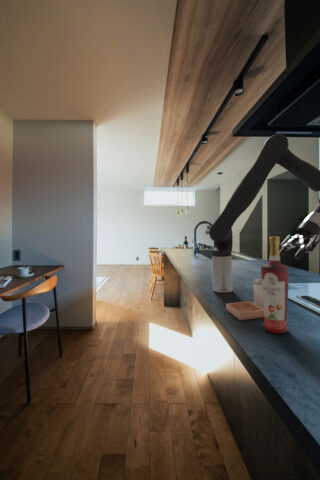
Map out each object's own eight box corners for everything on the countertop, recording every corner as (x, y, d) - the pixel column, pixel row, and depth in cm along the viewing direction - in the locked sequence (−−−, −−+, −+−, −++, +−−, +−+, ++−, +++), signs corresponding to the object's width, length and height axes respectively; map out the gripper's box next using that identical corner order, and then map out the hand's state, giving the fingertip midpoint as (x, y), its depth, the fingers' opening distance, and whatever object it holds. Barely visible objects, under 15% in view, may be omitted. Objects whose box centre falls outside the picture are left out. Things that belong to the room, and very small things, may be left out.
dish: (226, 310, 84) (226, 303, 84) (249, 307, 86) (249, 301, 86) (240, 320, 75) (240, 313, 75) (265, 317, 77) (265, 309, 77)
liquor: (293, 330, 67) (292, 236, 65) (284, 339, 62) (283, 237, 60) (267, 323, 72) (266, 236, 71) (257, 331, 67) (256, 237, 66)
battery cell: (251, 305, 88) (251, 278, 87) (261, 304, 89) (261, 277, 88) (258, 309, 84) (258, 280, 83) (269, 308, 85) (268, 279, 84)
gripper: (292, 220, 96) (269, 249, 94) (322, 218, 82) (296, 252, 80) (303, 232, 97) (280, 260, 95) (334, 232, 83) (309, 265, 81)
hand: (287, 256), depth 88 cm, fingers open, 8 cm apart
